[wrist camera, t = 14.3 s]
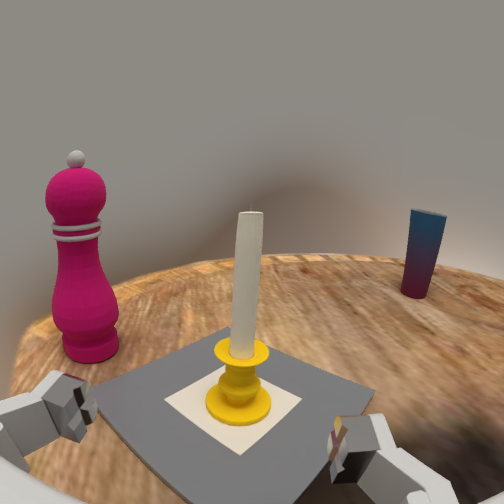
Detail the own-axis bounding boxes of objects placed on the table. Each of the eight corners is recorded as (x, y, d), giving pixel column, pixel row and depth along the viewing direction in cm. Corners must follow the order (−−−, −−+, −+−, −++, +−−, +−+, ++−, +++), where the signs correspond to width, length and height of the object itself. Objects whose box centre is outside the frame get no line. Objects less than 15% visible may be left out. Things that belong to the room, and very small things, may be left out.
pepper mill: (136, 343, 30) (129, 149, 25) (91, 376, 24) (68, 147, 18) (92, 324, 33) (82, 152, 27) (49, 349, 26) (26, 154, 21)
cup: (393, 294, 49) (409, 209, 45) (399, 284, 54) (412, 207, 50) (428, 304, 45) (447, 217, 41) (430, 292, 51) (446, 214, 47)
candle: (199, 387, 24) (201, 196, 20) (257, 379, 25) (275, 199, 21) (214, 431, 19) (219, 207, 15) (281, 418, 21) (312, 210, 17)
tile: (226, 332, 35) (227, 326, 34) (372, 396, 24) (375, 389, 24) (86, 396, 21) (84, 389, 21) (250, 547, 10) (252, 543, 10)
